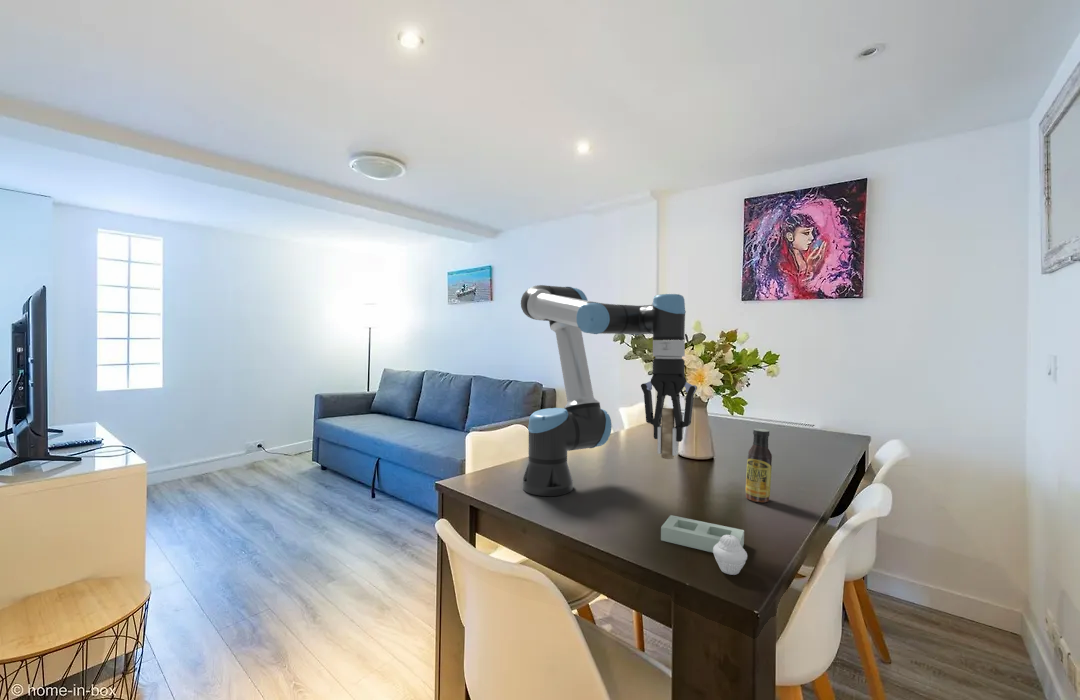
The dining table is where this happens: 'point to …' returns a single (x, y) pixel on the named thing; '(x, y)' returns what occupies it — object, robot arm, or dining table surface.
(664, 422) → the peg
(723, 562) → the muffin
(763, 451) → the sauce bottle
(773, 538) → the dining table surface
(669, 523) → the hole block
